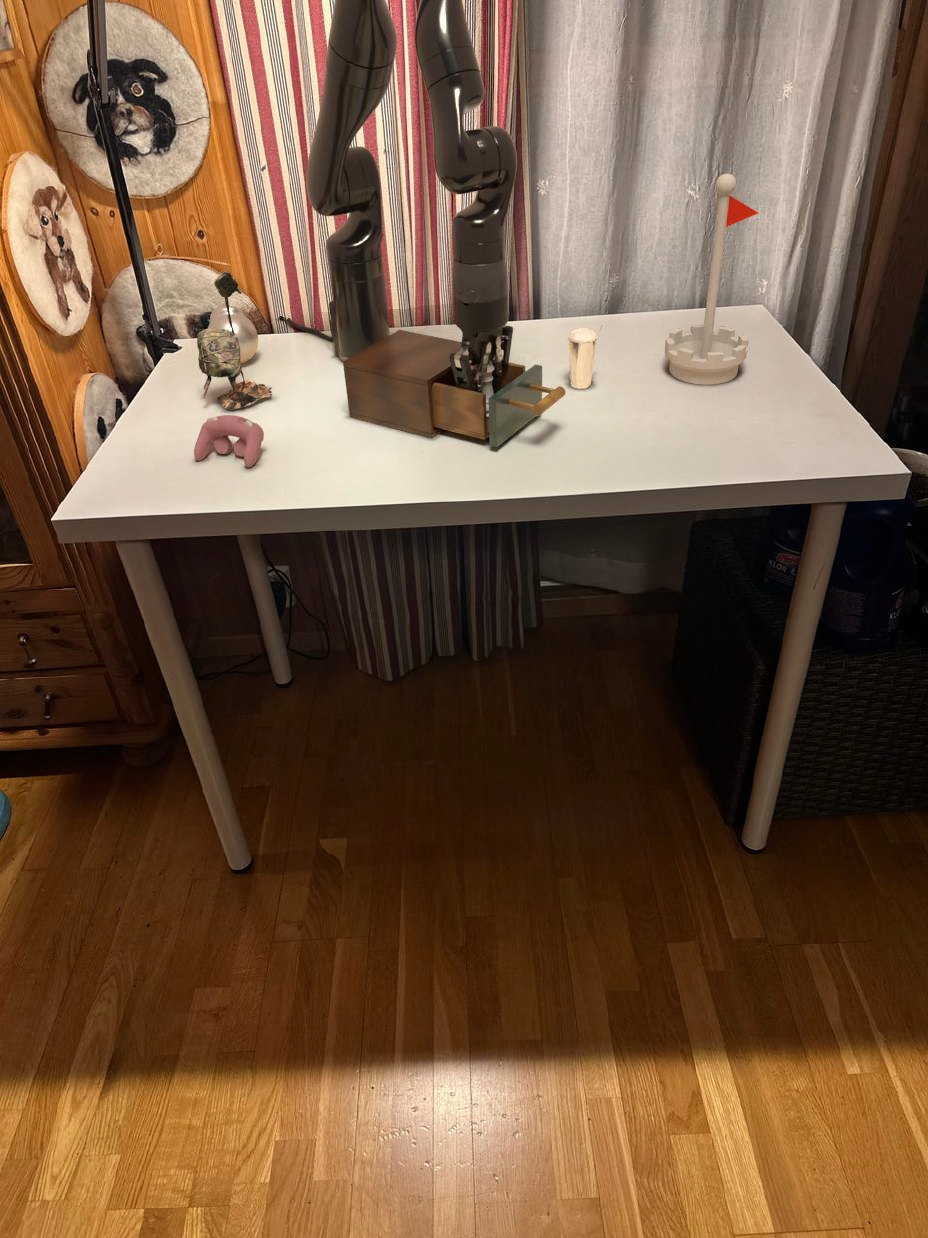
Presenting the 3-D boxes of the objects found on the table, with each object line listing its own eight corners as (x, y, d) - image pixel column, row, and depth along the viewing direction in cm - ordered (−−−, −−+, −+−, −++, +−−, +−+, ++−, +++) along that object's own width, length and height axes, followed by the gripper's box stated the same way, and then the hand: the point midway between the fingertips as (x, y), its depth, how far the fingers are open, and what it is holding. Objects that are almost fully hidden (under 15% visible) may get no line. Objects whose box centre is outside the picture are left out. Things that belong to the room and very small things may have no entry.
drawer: (574, 418, 138) (576, 372, 134) (530, 456, 130) (530, 407, 125) (462, 392, 147) (460, 348, 143) (414, 426, 139) (410, 380, 134)
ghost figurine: (266, 350, 168) (256, 295, 162) (258, 371, 161) (247, 314, 154) (216, 353, 168) (204, 298, 162) (206, 373, 161) (193, 317, 154)
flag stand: (655, 381, 150) (672, 182, 131) (672, 351, 159) (690, 161, 141) (737, 391, 146) (767, 186, 127) (749, 360, 155) (779, 165, 137)
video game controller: (266, 467, 136) (269, 419, 134) (249, 468, 131) (252, 418, 130) (208, 459, 138) (210, 412, 137) (190, 460, 134) (192, 411, 133)
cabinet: (483, 401, 147) (481, 345, 141) (431, 438, 137) (427, 380, 132) (404, 382, 154) (399, 329, 148) (349, 417, 144) (342, 361, 139)
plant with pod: (202, 396, 153) (173, 274, 141) (270, 385, 155) (247, 263, 143) (206, 416, 147) (176, 290, 135) (277, 404, 149) (254, 279, 137)
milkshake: (598, 391, 148) (601, 330, 142) (565, 389, 149) (566, 329, 143) (600, 379, 151) (603, 319, 145) (568, 378, 152) (569, 318, 146)
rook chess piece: (504, 409, 139) (503, 358, 135) (492, 421, 136) (491, 369, 131) (477, 405, 141) (475, 354, 136) (465, 417, 138) (462, 365, 133)
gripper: (484, 271, 134) (487, 383, 144) (428, 302, 125) (436, 419, 135) (529, 278, 130) (529, 392, 141) (475, 310, 121) (480, 430, 132)
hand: (484, 405), depth 138 cm, fingers closed on rook chess piece, 4 cm apart
